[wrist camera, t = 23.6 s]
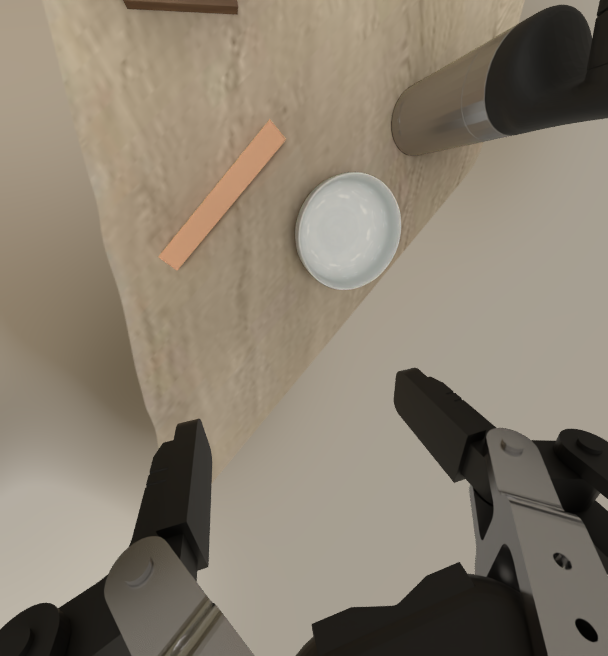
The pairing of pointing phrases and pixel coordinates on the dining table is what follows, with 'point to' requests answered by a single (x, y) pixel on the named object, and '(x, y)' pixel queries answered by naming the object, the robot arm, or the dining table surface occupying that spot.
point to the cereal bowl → (348, 230)
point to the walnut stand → (186, 5)
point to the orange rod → (223, 195)
